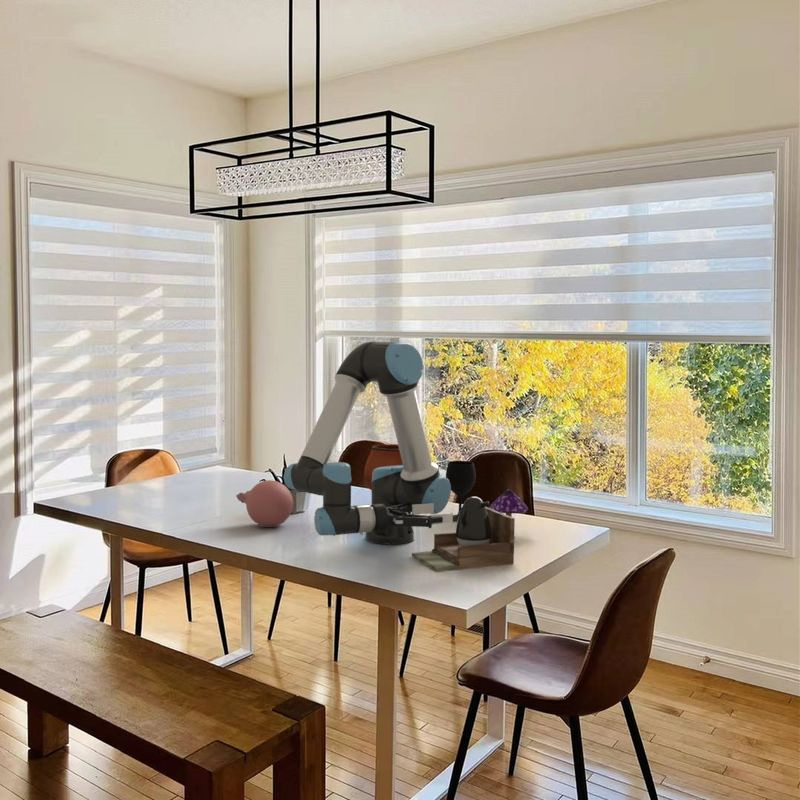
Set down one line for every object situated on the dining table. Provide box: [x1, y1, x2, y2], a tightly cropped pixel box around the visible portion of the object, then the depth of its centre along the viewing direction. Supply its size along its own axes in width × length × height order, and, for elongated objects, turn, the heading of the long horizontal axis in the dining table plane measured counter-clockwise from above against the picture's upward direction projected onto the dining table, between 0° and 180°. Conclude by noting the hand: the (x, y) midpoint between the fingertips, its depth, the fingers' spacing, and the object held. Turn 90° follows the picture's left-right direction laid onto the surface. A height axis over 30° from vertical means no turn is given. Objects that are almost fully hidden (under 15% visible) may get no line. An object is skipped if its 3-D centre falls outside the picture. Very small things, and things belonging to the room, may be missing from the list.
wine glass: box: [445, 460, 477, 521], centre depth 297 cm, size 10×10×20 cm
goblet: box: [363, 443, 403, 492], centre depth 301 cm, size 19×19×25 cm
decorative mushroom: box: [489, 489, 529, 517], centre depth 274 cm, size 12×12×15 cm
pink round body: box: [236, 479, 294, 528], centre depth 283 cm, size 15×20×15 cm
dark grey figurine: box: [455, 496, 491, 546], centre depth 244 cm, size 10×10×15 cm
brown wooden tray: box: [411, 506, 516, 572], centre depth 243 cm, size 17×24×13 cm
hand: (442, 512), depth 240 cm, fingers open, 13 cm apart
